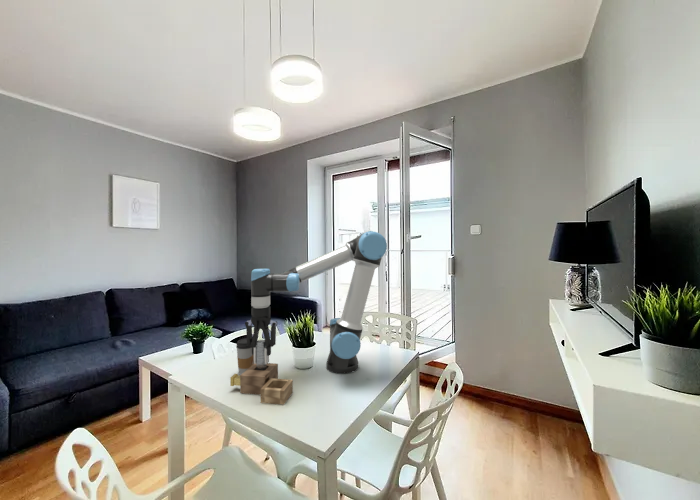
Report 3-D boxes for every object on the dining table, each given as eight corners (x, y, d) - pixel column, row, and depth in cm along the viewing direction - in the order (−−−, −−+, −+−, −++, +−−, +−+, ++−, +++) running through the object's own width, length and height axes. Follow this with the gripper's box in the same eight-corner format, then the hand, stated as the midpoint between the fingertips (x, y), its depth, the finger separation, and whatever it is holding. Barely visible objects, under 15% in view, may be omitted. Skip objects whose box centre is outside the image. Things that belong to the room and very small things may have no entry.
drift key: (265, 384, 117) (265, 375, 117) (262, 388, 114) (261, 379, 114) (235, 382, 119) (235, 373, 119) (230, 385, 116) (230, 377, 116)
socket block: (277, 379, 126) (277, 363, 126) (264, 395, 113) (264, 376, 113) (255, 378, 127) (255, 362, 127) (240, 393, 114) (240, 375, 114)
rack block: (292, 392, 115) (292, 379, 115) (284, 404, 106) (284, 390, 106) (270, 390, 116) (270, 378, 116) (260, 402, 107) (260, 389, 107)
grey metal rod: (268, 382, 123) (267, 339, 123) (264, 387, 119) (263, 343, 119) (259, 382, 124) (258, 339, 124) (254, 386, 120) (254, 342, 120)
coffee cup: (250, 378, 127) (249, 344, 127) (232, 377, 129) (232, 343, 128) (259, 370, 135) (259, 338, 135) (243, 369, 137) (242, 337, 137)
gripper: (284, 304, 124) (284, 360, 124) (246, 304, 126) (246, 358, 126) (277, 308, 116) (277, 367, 116) (236, 307, 119) (237, 365, 119)
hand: (261, 362), depth 121 cm, fingers closed on grey metal rod, 4 cm apart
